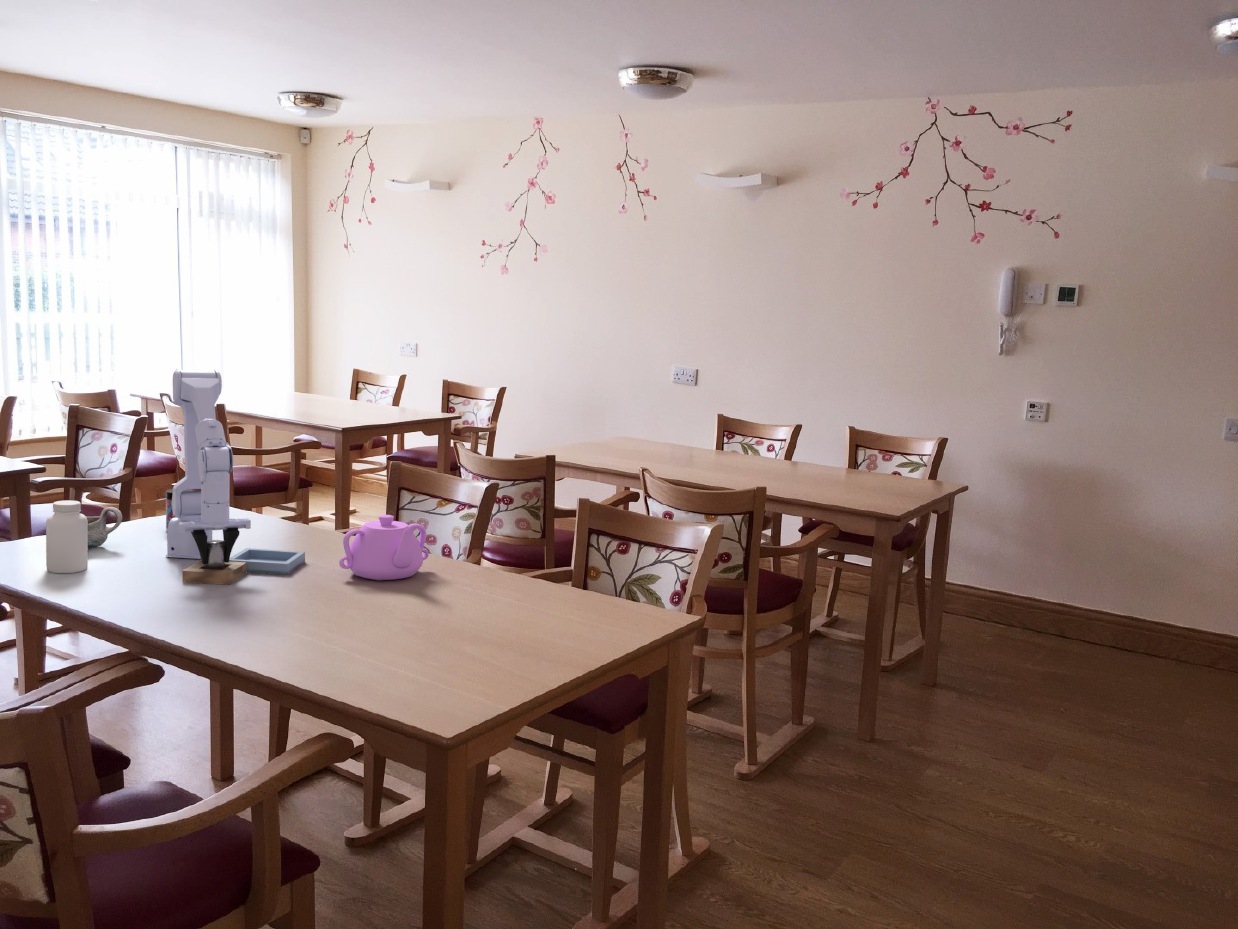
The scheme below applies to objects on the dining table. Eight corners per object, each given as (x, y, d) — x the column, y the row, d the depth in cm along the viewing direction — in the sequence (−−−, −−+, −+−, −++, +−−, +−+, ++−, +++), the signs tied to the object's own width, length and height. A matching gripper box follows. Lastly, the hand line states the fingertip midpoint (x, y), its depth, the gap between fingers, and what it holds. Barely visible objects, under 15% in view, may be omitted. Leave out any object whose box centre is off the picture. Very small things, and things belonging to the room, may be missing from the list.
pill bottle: (86, 573, 217) (85, 505, 215) (43, 575, 214) (42, 506, 212) (90, 564, 225) (89, 498, 222) (49, 565, 222) (48, 499, 219)
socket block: (182, 582, 215) (182, 570, 215) (202, 570, 225) (202, 559, 225) (228, 584, 215) (228, 573, 215) (246, 573, 225) (246, 562, 225)
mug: (64, 544, 241) (64, 503, 239) (123, 542, 246) (122, 502, 245) (61, 553, 232) (61, 511, 231) (122, 551, 238) (121, 510, 236)
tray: (226, 570, 226) (226, 560, 226) (246, 558, 238) (246, 548, 238) (287, 574, 226) (288, 563, 226) (304, 562, 238) (305, 551, 238)
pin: (202, 579, 218) (202, 543, 217) (209, 574, 222) (209, 539, 221) (220, 580, 218) (220, 544, 217) (227, 576, 222) (227, 540, 221)
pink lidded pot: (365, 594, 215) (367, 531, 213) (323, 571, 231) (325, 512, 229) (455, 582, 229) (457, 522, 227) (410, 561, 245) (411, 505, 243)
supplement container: (172, 526, 266) (172, 487, 265) (198, 528, 266) (198, 489, 265) (161, 531, 260) (161, 492, 258) (187, 533, 260) (187, 493, 258)
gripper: (183, 506, 210) (183, 569, 212) (254, 503, 219) (254, 563, 221) (176, 500, 216) (176, 562, 218) (246, 497, 224) (245, 556, 226)
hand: (215, 562), depth 220 cm, fingers closed on pin, 4 cm apart
